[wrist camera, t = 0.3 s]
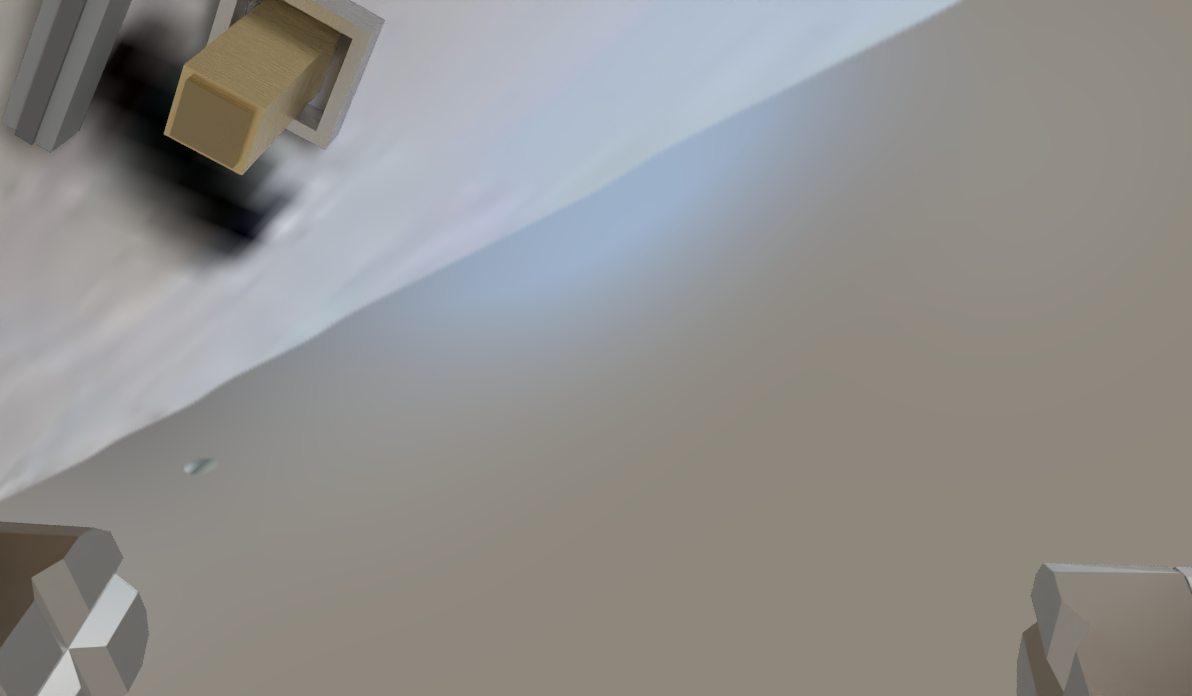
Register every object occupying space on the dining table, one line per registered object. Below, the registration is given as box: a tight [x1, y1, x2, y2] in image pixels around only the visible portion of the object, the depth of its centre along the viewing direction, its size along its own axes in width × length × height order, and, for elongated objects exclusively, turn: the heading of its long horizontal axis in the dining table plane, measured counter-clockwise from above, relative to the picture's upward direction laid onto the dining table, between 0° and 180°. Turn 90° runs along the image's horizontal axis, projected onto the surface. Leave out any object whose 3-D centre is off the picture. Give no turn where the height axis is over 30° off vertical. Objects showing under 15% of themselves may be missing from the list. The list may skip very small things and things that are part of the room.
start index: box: [207, 0, 385, 150], centre depth 59 cm, size 8×8×2 cm
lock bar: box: [164, 0, 342, 175], centre depth 55 cm, size 4×4×10 cm
